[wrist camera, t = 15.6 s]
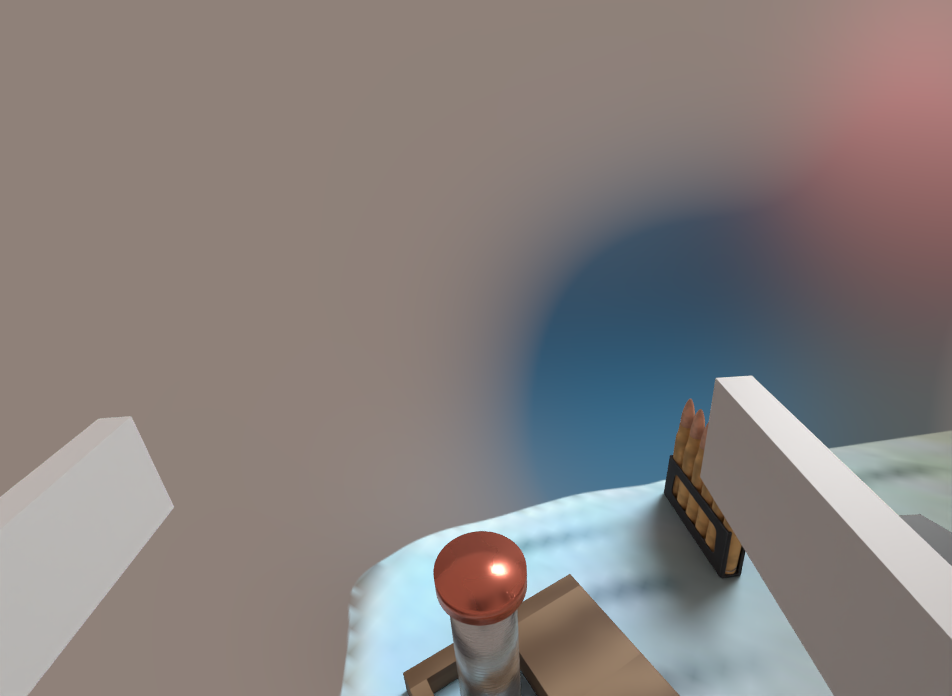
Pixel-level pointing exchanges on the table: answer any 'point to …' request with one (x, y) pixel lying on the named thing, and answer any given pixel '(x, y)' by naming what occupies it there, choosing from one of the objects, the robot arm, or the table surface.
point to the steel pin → (483, 610)
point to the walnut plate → (561, 651)
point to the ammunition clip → (700, 497)
